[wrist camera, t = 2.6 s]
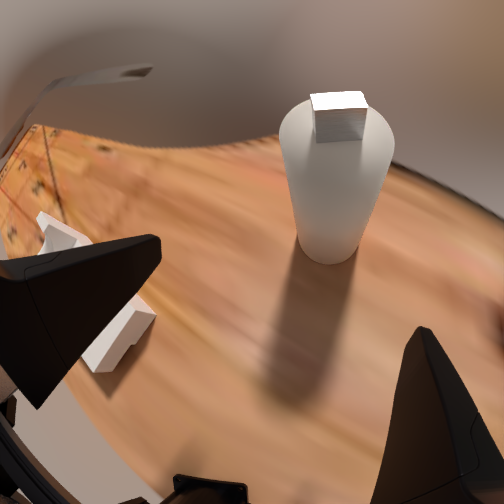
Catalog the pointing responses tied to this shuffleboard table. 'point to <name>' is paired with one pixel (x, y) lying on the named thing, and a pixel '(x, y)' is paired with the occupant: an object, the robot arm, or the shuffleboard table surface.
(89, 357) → the bracket
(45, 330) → the robot arm
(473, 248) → the shuffleboard table surface
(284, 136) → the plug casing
